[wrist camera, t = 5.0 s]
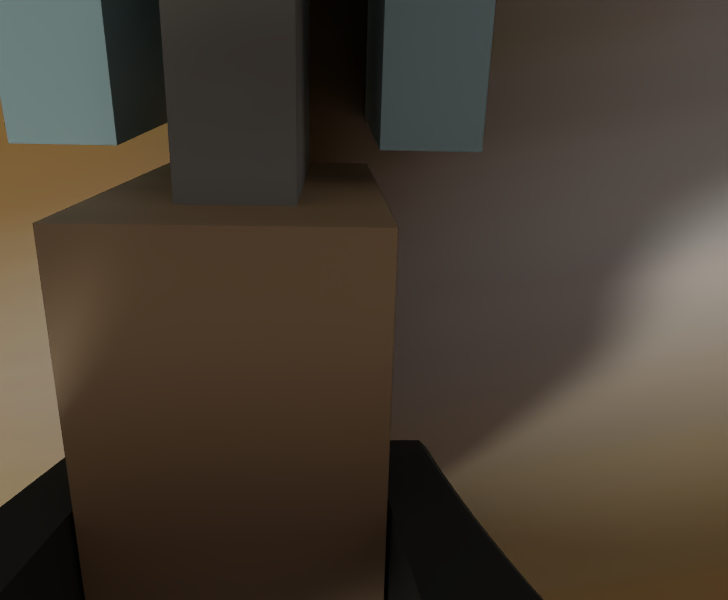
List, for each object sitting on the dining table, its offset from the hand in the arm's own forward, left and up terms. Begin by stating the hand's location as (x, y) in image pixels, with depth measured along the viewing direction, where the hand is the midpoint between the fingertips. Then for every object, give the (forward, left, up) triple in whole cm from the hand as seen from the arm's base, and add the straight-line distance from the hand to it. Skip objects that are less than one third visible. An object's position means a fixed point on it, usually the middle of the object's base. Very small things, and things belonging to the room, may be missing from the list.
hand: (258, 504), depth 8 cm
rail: (+2, 0, -3) cm, 4 cm away
